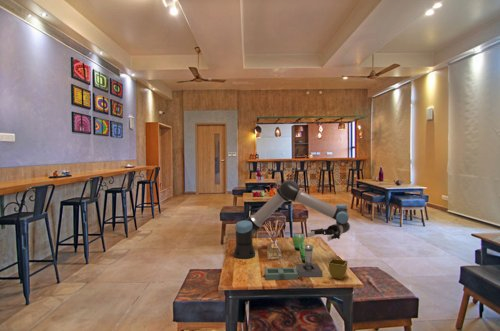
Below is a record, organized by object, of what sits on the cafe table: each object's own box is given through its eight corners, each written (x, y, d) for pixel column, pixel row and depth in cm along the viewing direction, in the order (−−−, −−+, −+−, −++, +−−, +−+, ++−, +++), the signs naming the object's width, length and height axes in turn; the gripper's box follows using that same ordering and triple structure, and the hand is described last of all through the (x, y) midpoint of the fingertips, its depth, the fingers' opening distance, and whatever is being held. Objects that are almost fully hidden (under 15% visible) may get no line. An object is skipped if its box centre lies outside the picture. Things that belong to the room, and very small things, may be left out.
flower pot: (332, 273, 176) (332, 258, 175) (347, 276, 171) (347, 260, 171) (328, 278, 168) (328, 262, 168) (344, 281, 164) (343, 265, 163)
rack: (264, 273, 178) (264, 268, 178) (294, 272, 178) (294, 267, 178) (265, 279, 168) (265, 274, 168) (297, 279, 168) (297, 273, 168)
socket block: (295, 268, 184) (295, 264, 184) (316, 268, 184) (316, 263, 184) (299, 277, 171) (299, 272, 171) (322, 276, 171) (322, 271, 171)
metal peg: (304, 271, 179) (304, 244, 179) (311, 271, 179) (311, 244, 179) (305, 274, 175) (305, 246, 175) (313, 273, 175) (312, 246, 175)
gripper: (353, 238, 190) (336, 246, 175) (318, 233, 208) (301, 239, 192) (352, 227, 190) (336, 233, 175) (318, 222, 207) (300, 227, 192)
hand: (318, 236), depth 184 cm, fingers open, 13 cm apart
